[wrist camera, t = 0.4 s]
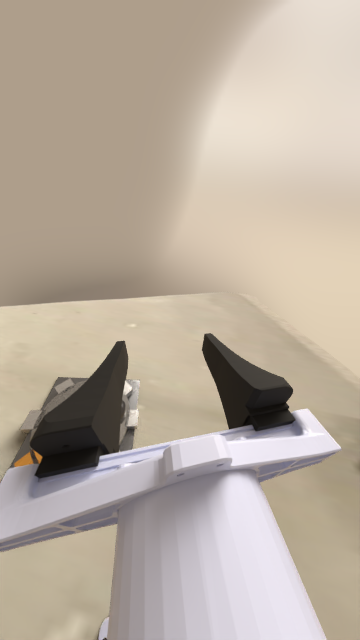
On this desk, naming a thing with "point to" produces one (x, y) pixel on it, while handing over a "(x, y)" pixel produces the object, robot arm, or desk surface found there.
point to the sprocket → (64, 391)
